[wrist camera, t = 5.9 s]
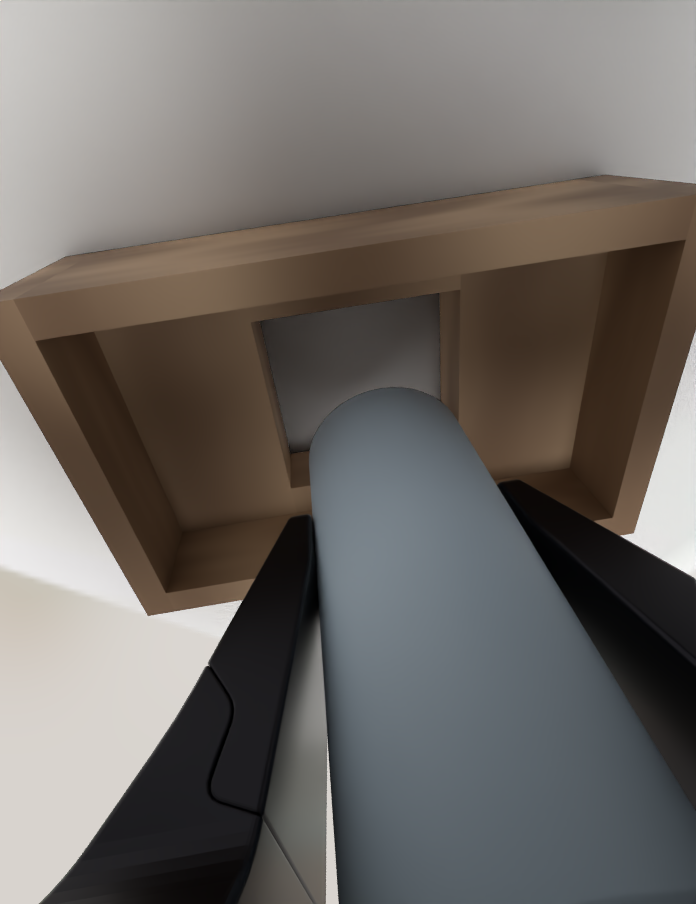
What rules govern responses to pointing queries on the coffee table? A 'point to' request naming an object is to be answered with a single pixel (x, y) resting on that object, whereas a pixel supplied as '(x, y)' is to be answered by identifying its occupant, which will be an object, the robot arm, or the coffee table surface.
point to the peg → (470, 690)
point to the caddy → (338, 286)
